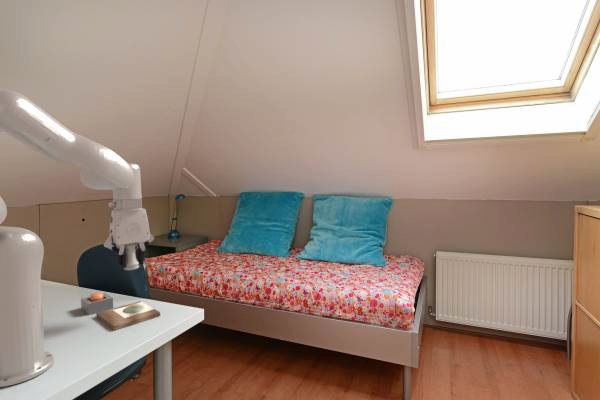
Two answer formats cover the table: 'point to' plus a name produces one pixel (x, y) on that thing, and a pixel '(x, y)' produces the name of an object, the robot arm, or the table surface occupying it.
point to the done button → (96, 297)
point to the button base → (96, 304)
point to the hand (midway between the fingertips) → (131, 264)
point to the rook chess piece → (131, 257)
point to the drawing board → (127, 315)
